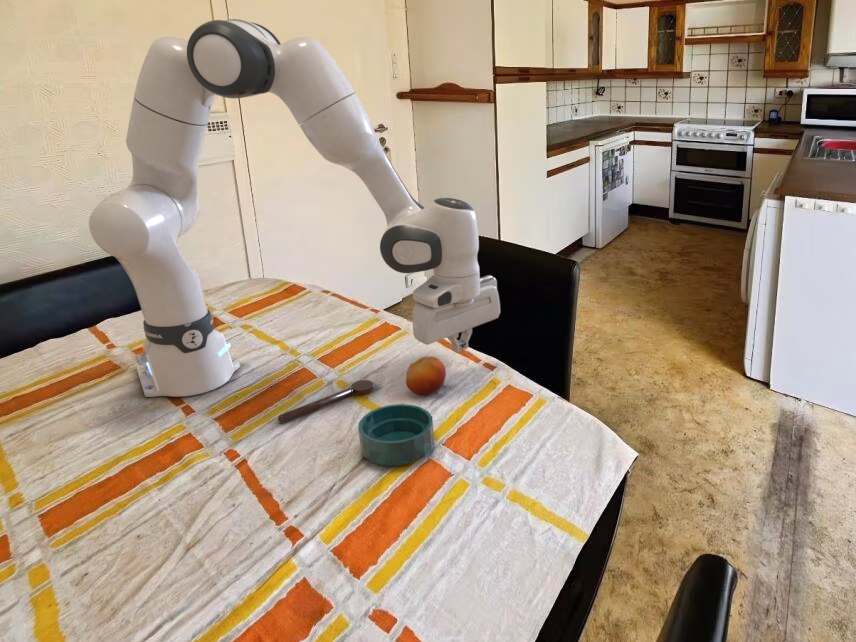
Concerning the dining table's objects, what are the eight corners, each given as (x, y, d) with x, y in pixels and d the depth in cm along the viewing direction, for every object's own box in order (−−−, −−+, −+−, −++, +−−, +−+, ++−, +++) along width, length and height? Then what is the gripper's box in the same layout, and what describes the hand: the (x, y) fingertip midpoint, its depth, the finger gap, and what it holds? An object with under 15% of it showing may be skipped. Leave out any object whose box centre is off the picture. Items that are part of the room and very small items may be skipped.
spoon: (273, 419, 114) (271, 412, 113) (366, 382, 127) (365, 375, 126) (284, 428, 111) (283, 421, 111) (378, 390, 124) (377, 383, 123)
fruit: (449, 396, 119) (426, 362, 116) (416, 411, 122) (393, 378, 119) (460, 377, 126) (438, 344, 123) (429, 391, 129) (407, 360, 126)
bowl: (347, 447, 106) (344, 422, 104) (405, 420, 114) (403, 397, 111) (389, 478, 99) (386, 452, 96) (448, 447, 106) (447, 422, 104)
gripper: (485, 269, 129) (486, 331, 135) (405, 294, 116) (411, 360, 123) (506, 276, 125) (507, 339, 131) (426, 302, 112) (431, 370, 119)
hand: (460, 349), depth 127 cm, fingers closed
